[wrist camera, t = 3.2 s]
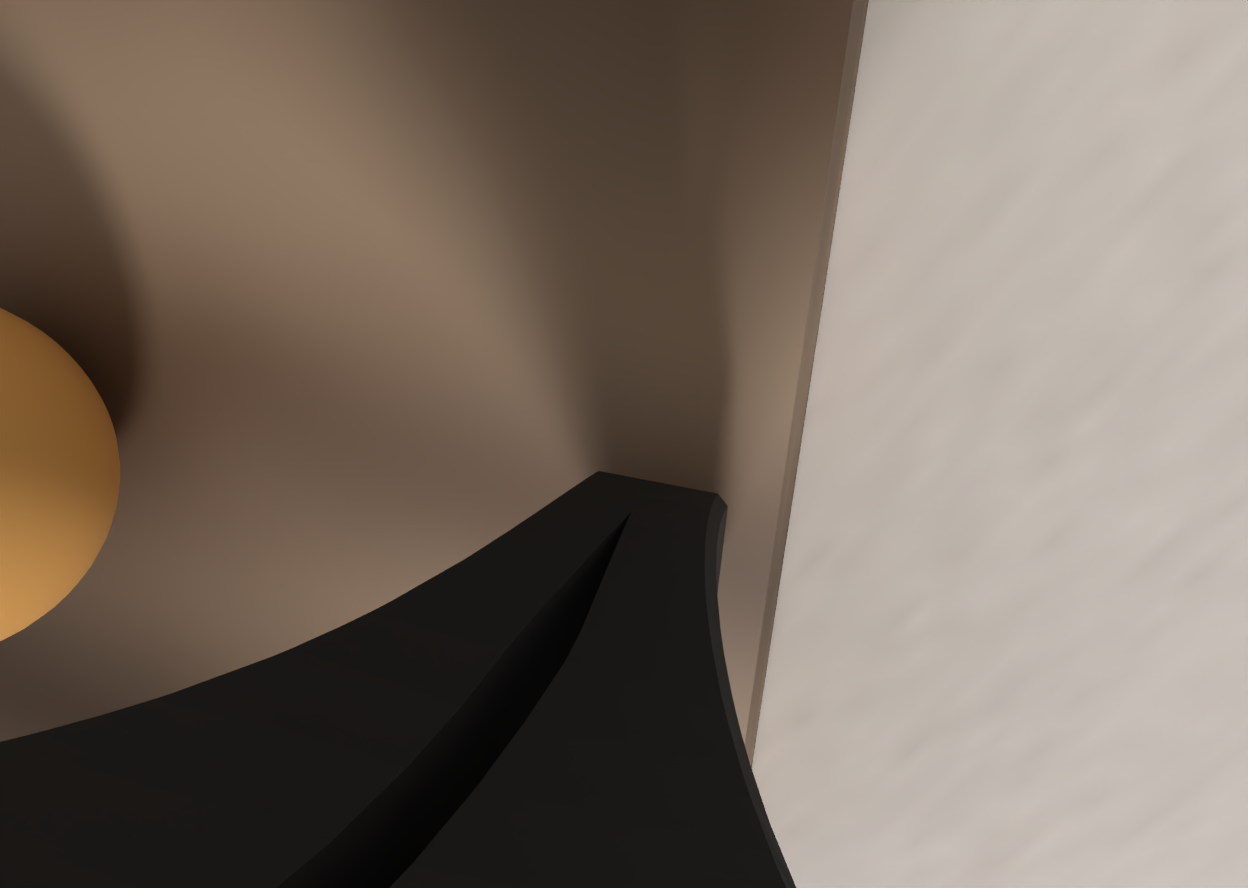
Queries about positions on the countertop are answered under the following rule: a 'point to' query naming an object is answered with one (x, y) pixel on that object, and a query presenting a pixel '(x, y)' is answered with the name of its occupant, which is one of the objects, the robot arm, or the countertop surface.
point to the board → (408, 296)
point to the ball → (49, 473)
